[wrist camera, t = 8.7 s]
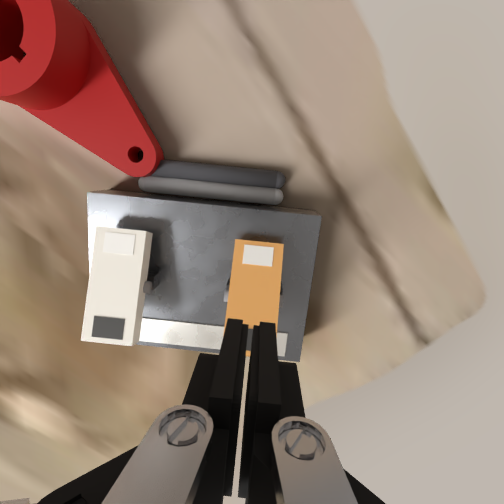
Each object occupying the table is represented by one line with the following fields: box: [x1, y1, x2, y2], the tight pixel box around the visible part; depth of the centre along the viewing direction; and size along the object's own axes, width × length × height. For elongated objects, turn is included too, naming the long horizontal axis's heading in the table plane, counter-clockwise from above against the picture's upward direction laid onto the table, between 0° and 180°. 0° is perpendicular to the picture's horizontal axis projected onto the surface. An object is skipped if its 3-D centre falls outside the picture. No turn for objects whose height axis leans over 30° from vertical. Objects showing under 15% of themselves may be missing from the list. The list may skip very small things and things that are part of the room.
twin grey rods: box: [138, 159, 285, 205], centre depth 29 cm, size 3×14×2 cm, turn 85°
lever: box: [0, 0, 164, 177], centre depth 25 cm, size 18×9×7 cm, turn 43°
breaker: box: [81, 226, 153, 346], centre depth 26 cm, size 9×5×2 cm, turn 175°
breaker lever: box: [223, 239, 284, 356], centre depth 26 cm, size 9×5×2 cm
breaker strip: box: [87, 189, 322, 362], centre depth 30 cm, size 14×20×6 cm
